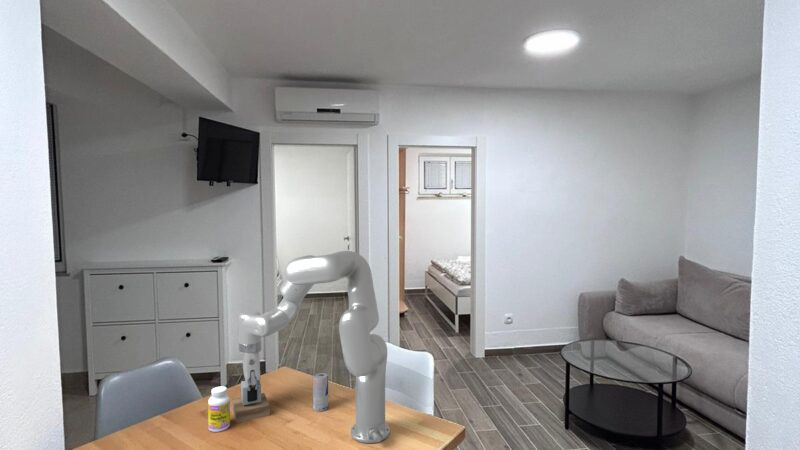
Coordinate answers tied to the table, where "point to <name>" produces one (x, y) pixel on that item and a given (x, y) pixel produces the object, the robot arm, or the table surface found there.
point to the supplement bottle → (219, 409)
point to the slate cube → (244, 392)
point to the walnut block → (250, 409)
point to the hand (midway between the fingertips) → (251, 396)
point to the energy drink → (320, 392)
